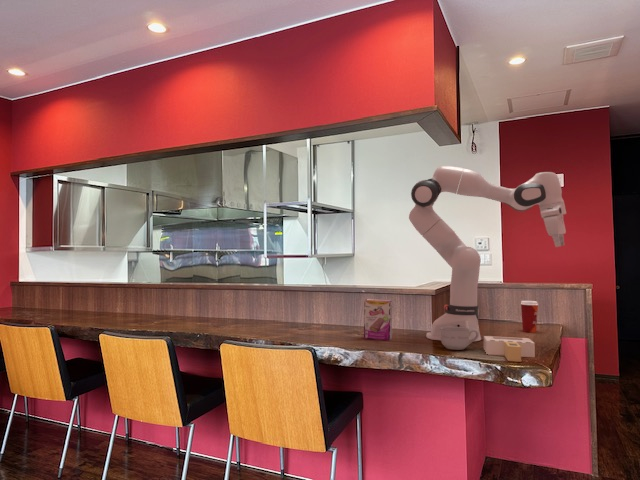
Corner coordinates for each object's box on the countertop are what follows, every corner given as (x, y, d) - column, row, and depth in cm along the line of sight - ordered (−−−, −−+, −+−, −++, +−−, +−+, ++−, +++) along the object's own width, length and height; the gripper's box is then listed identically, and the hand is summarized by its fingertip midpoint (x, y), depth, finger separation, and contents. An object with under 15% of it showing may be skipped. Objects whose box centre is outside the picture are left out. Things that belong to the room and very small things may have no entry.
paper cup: (540, 333, 204) (540, 302, 204) (522, 332, 205) (522, 302, 205) (535, 330, 211) (535, 300, 212) (518, 329, 213) (518, 300, 213)
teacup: (438, 350, 168) (438, 328, 168) (441, 344, 178) (441, 324, 178) (478, 353, 163) (478, 331, 163) (479, 347, 173) (479, 326, 173)
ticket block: (486, 354, 162) (486, 340, 162) (483, 349, 170) (483, 335, 171) (534, 357, 158) (534, 342, 158) (529, 351, 167) (529, 337, 167)
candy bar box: (363, 339, 187) (363, 299, 188) (366, 337, 192) (366, 298, 193) (390, 341, 184) (390, 301, 184) (392, 338, 189) (392, 299, 189)
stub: (508, 361, 152) (508, 345, 152) (504, 355, 160) (504, 341, 160) (521, 361, 151) (521, 346, 151) (516, 356, 159) (516, 341, 159)
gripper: (549, 214, 187) (555, 246, 186) (539, 212, 171) (546, 248, 170) (565, 210, 184) (572, 244, 183) (557, 209, 167) (565, 245, 166)
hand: (560, 246), depth 176 cm, fingers open, 8 cm apart
